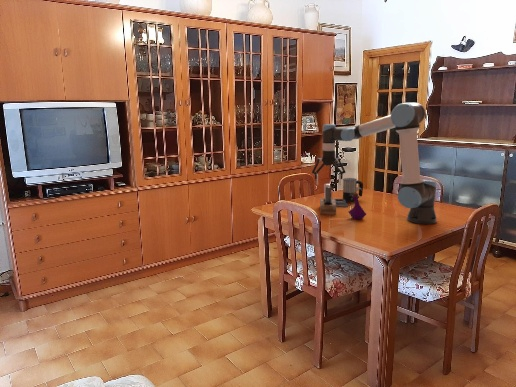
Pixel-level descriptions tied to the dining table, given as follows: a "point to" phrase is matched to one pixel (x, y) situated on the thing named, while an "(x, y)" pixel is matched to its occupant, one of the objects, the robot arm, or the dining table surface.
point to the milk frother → (351, 188)
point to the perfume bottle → (357, 208)
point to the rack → (327, 207)
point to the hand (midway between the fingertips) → (328, 184)
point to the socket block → (341, 203)
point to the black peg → (328, 195)
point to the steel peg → (324, 189)
